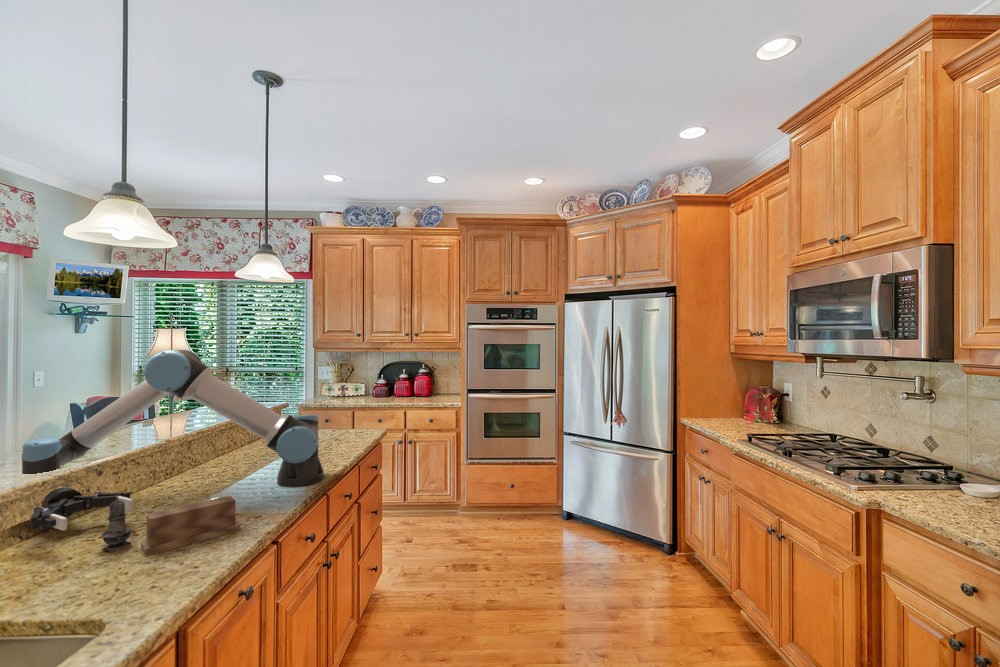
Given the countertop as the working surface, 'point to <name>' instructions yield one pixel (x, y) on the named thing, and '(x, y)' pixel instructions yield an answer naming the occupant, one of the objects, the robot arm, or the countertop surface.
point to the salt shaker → (116, 528)
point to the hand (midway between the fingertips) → (100, 514)
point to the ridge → (189, 524)
